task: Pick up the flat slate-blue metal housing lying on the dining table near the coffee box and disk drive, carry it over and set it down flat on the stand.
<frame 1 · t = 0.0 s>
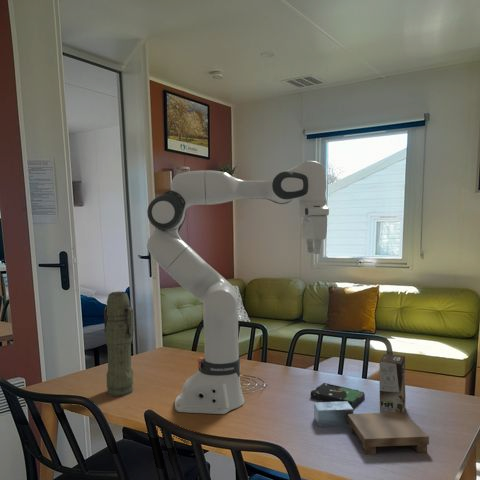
hand: (313, 253, 136), 48 cm above the table, tool pointing down, fingers open, 8 cm apart
housing: (333, 422, 119), on the table
coffee box: (393, 411, 126), on the table
stand: (386, 439, 109), on the table
disk drive: (337, 400, 137), on the table
thermos: (120, 392, 146), on the table
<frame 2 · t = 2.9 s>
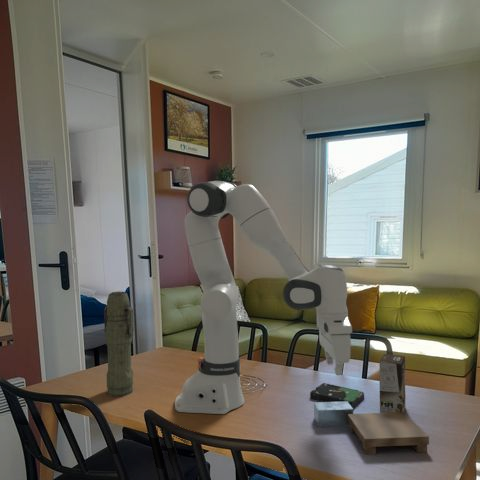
hand: (334, 369, 119), 15 cm above the table, tool pointing down, fingers open, 8 cm apart
nothing on the table moved.
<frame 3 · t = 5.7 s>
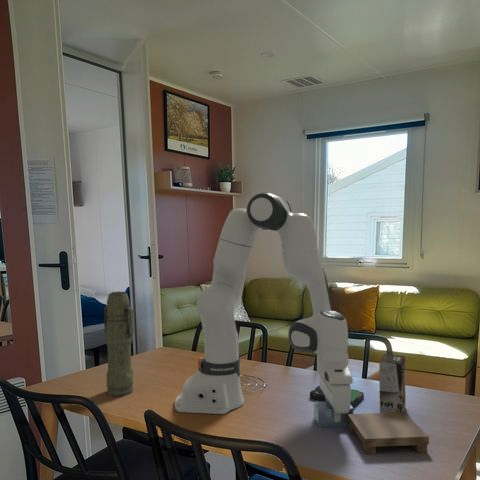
hand: (333, 415, 119), 2 cm above the table, tool pointing down, fingers closed on housing, 5 cm apart
housing: (333, 422, 119), on the table, touching gripper
everything else where it was.
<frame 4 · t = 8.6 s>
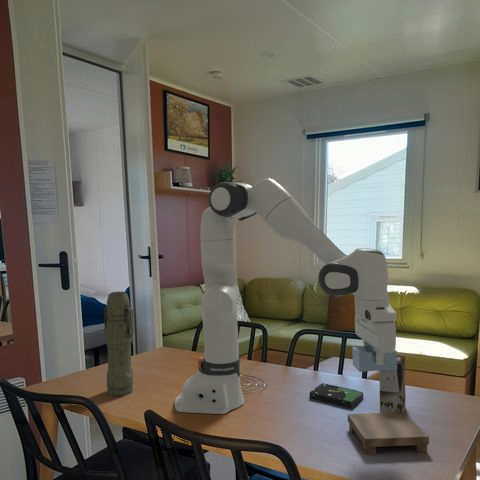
hand: (374, 360, 111), 20 cm above the table, tool pointing down, fingers closed on housing, 5 cm apart
housing: (374, 367, 111), point 18 cm above the table, touching gripper
everything else where it was.
when the fingers open (7 cm above the table, at t = 11.4 s): housing drops 1 cm, resting on stand.
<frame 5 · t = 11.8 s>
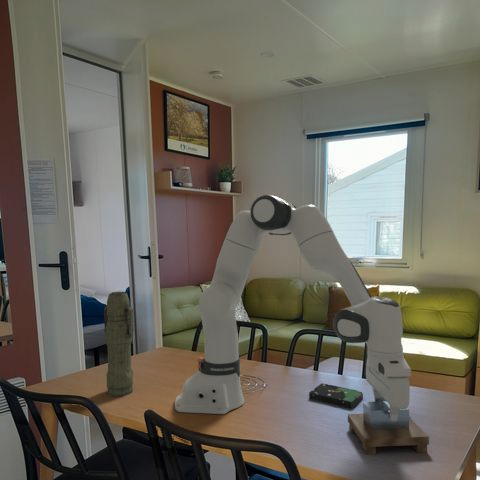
hand: (385, 411, 109), 7 cm above the table, tool pointing down, fingers open, 8 cm apart
housing: (385, 424, 109), point 4 cm above the table, touching stand
everything else where it was.
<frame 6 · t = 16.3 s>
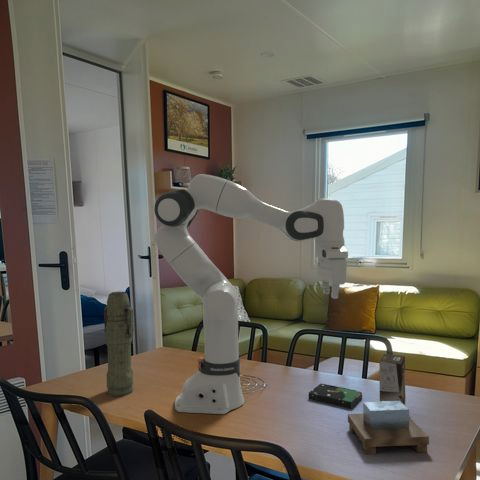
hand: (330, 295, 128), 35 cm above the table, tool pointing down, fingers open, 8 cm apart
nothing on the table moved.
at the end: housing inside the target area on the stand (0.0 cm from its centre), point 4.0 cm above the stand's base; housing tilted 0°; the gripper is holding nothing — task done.
